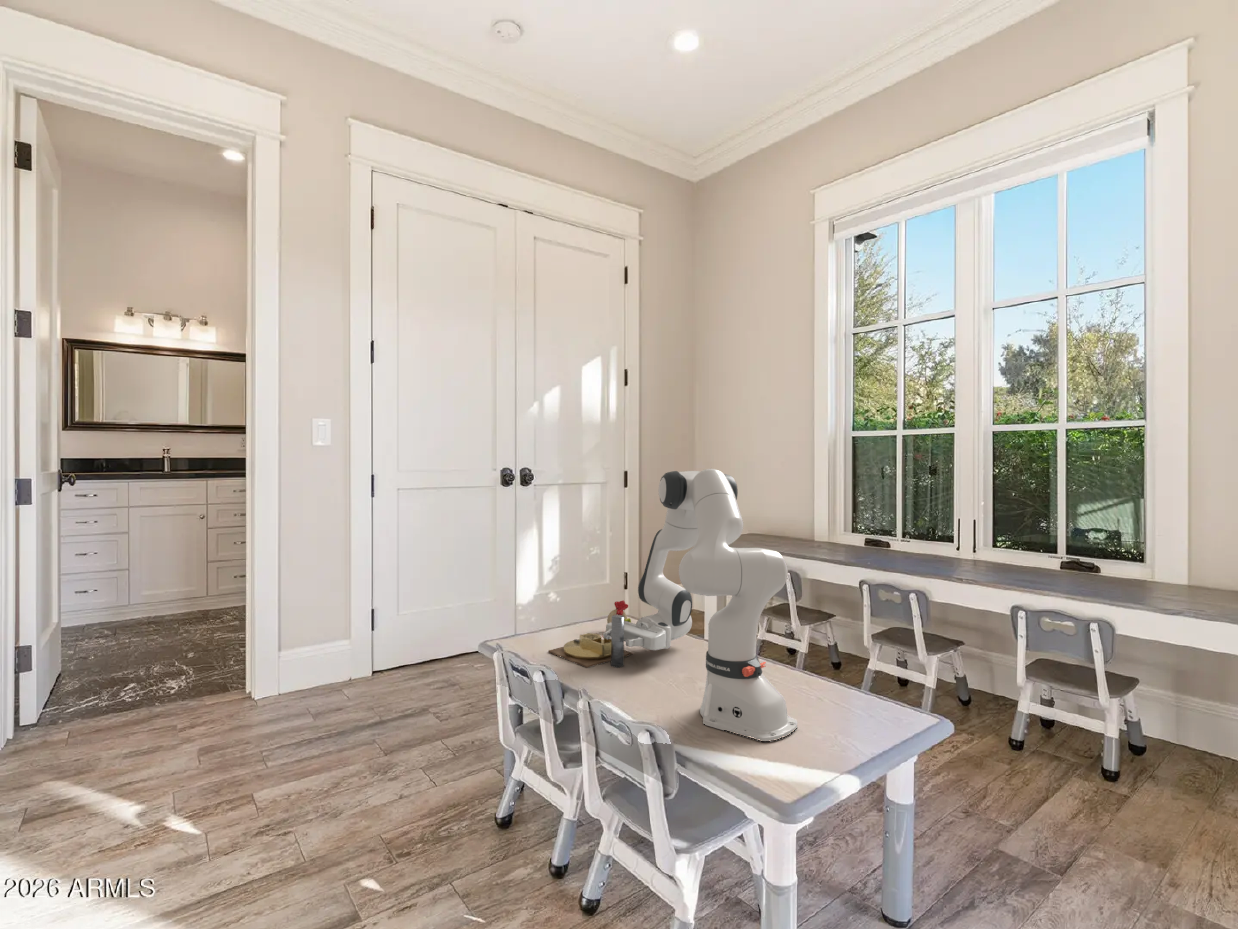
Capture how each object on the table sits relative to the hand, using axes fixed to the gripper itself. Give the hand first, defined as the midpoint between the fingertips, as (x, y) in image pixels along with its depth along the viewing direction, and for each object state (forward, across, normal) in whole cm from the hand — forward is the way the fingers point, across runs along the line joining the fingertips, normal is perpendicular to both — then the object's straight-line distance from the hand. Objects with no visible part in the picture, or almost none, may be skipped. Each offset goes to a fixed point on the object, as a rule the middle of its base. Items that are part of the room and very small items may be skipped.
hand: (615, 639), depth 178 cm
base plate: (-2, -13, +7) cm, 15 cm away
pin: (-1, 0, +8) cm, 8 cm away
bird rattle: (-25, -24, +8) cm, 35 cm away
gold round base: (-2, -13, +7) cm, 15 cm away
